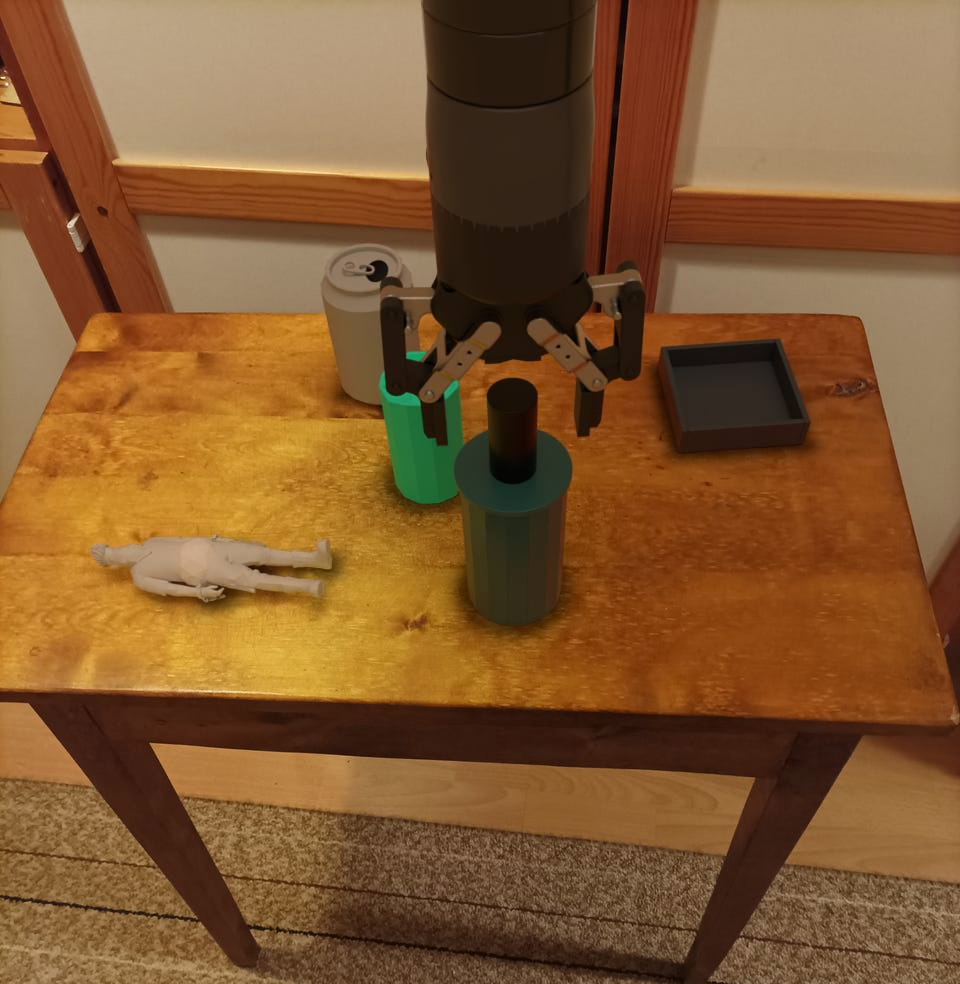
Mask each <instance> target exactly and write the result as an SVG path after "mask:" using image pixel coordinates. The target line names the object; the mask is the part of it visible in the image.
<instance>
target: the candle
mask: <svg viewBox="0 0 960 984" xmlns="http://www.w3.org/2000/svg"><path fill="white" fill-rule="evenodd" d="M427 352H428V351H421V352H408V353H406V357H407V359H411V360H415V361H420V360H421V359H422V358H423V357H424V355H425V354H426V353H427ZM379 390H380V396H381V402H382V405H381V406H382V407H381V408H382V413H383V419H384V425H385V431H386V436H387V442H388V443H387V444H388V446H389V448H388V449H389V455H390V460H391V466H392V471H393V478H394V483H395V486H396V488H397V489H398V491H399V492H400V493H401V495H402V496H403V498H405V499H408V500H410V501H412V502H415V503H418V504H420V505H422V504H423V505H426V504H427V505H429V504H441V503H443V502H446V501H447V500H450V499H452V498H454V497H456V496H457V495H458V494H459V493H460V492H459V490H458V488H457V486H456V483H455V478H454V464H455V460H456V457H457V455H458V453H459V452H460V450H461V449H462V447H463V446H464V445H465V439H464V427H463V425H464V424H463V412H462V411H463V410H462V401H461V385H460V380H459V381H456V380H454V381H453V382H452V384H451V385H450V386H449V387H448V388H447V390H446V391H445V392H444V397H445V408H446V420H447V435H448V446H437V445H436V438H427V437H426V435H425V434H424V431H423V422H422V413H421V405H420V400H419V398H418V397H417V396H415V395H414V394H411V393H405V394H403V395H401V396H392V395H390V394H389V393H388V392H387V391H386V386H385V373H384V372H383V374H382V375H381V379H380V384H379Z"/></svg>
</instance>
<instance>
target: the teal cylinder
mask: <svg viewBox="0 0 960 984" xmlns="http://www.w3.org/2000/svg"><path fill="white" fill-rule="evenodd" d="M568 490H569V489H568ZM568 490H567V492H566V493H565V494H564V496H563V497H562V498H561V499H560V500H559V501H558V502H557V503H555V504H554V505H553V506H551V507H550V508H548V509H546V510H544V511H542V512H539V513H536V514H533V515H529V516H523V517H501V516H496V515H492V514H488V513H486V512H483V511H481V510H479V509H477V508H475V507H474V506H472V505H471V504H470V503H468V502H467V501H466V500H465V499H464V498H463V496H462V495H461V494H460V493H459V496H460V508H461V509H460V510H461V519H462V532H463V545H464V559H465V568H466V579H467V580H466V581H467V593H468V597H469V600H470V602H471V605H472V606H473V607H474V609H475V610H476V612H478V614H480V615H481V616H482V617H484V618H485V619H487V620H488V621H490V622H493V623H496V624H498V625H503V626H509V627H519V626H527V625H530V624H533V623H536V622H538V621H540V620H542V619H543V618H545V617H547V615H549V614H550V613H551V612H552V610H554V609H555V607H556V605H557V604H558V601H559V599H560V596H561V591H562V587H563V585H562V584H563V572H564V571H563V570H564V553H565V537H566V521H567V520H566V519H567V506H568V505H567V503H568Z"/></svg>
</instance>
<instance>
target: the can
mask: <svg viewBox="0 0 960 984" xmlns="http://www.w3.org/2000/svg"><path fill="white" fill-rule="evenodd" d="M324 272H325V273H324V275H323V277H322V280H321V281H320V295H321V299H322V304H323V308H324V312H325V313H324V314H325V317H326V322H327V327H328V331H329V336H330V340H331V346H332V349H333V355H334V360H335V365H336V369H337V373H338V378H339V382H340V383H339V384H340V386H341V387H342V390H343V391H344V392H345V394H347V395H349V396H350V397H351V398H352V399H354V400H357V401H359V402H362V403H366V404H368V405H373V406H382V402H381V396H380V390H379V384H380V379H381V375H382V374H383V372H384V360H383V347H382V334H381V321H380V283H381V281H382V280H383V279H384V278H386V277H389V276H393V277H397V278H398V279H400V280H401V282H402V284H403V288H407V287H414V281H413V275H412V272H411V271H410V269H409V268H408V267H407V265H405V264H404V263H403V258H402V257H401V255H400V254H399V253H398V252H397V251H395V250H394V249H392V248H391V247H389V246H386V245H383V244H379V243H368V242H366V243H357V244H354V245H351V246H347V247H344V248H343V249H342V248H341V249H340V250H339V251H337V252H336V253H334V254H333V255H332V256H331V257H330V258H329V259H328V260H327V262H326V265H325V266H324ZM405 337H406V353H408V352H422V351H421V342H420V333H419V326H418V327H417V329H415V330H414V331H413V333H412V334H410V335H407V334H405Z"/></svg>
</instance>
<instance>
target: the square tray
mask: <svg viewBox="0 0 960 984" xmlns="http://www.w3.org/2000/svg"><path fill="white" fill-rule="evenodd" d="M657 372H658V377H659V381H660V385H661V388H662V389H661V390H662V393H663V397H664V401H665V406H666V409H667V413H668V417H669V423H670V425H671V430H672V434H673V437H674V442H675V445H676V449H677V453H678V454H683V453H684V454H685V453H697V452H710V451H711V452H713V451H725V450H727V451H728V450H738V449H739V450H742V449H754V448H768V447H782V446H796V445H798V446H799V445H804V442H805V440H806V437H807V435H808V433H809V429H810V426H811V423H812V420H811V419H810V418H811V417H810V416H809V413H808V410H807V408H806V404H805V402H804V400H803V397H802V393H801V391H800V389H799V386H798V382H797V380H796V378H795V375H794V373H793V369H792V367H791V364H790V361H789V360H788V355H787V354H786V351H785V348H784V345H783V343H782V340H781V338H779V337H777V338H764V339H763V338H762V339H751V340H750V339H749V340H739V341H738V340H737V341H722V342H721V341H719V342H708V343H706V342H705V343H695V344H693V343H691V344H680V345H667V346H666V345H665V346H663V345H662V346H661V347H660V351H659V356H658V362H657Z"/></svg>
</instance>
